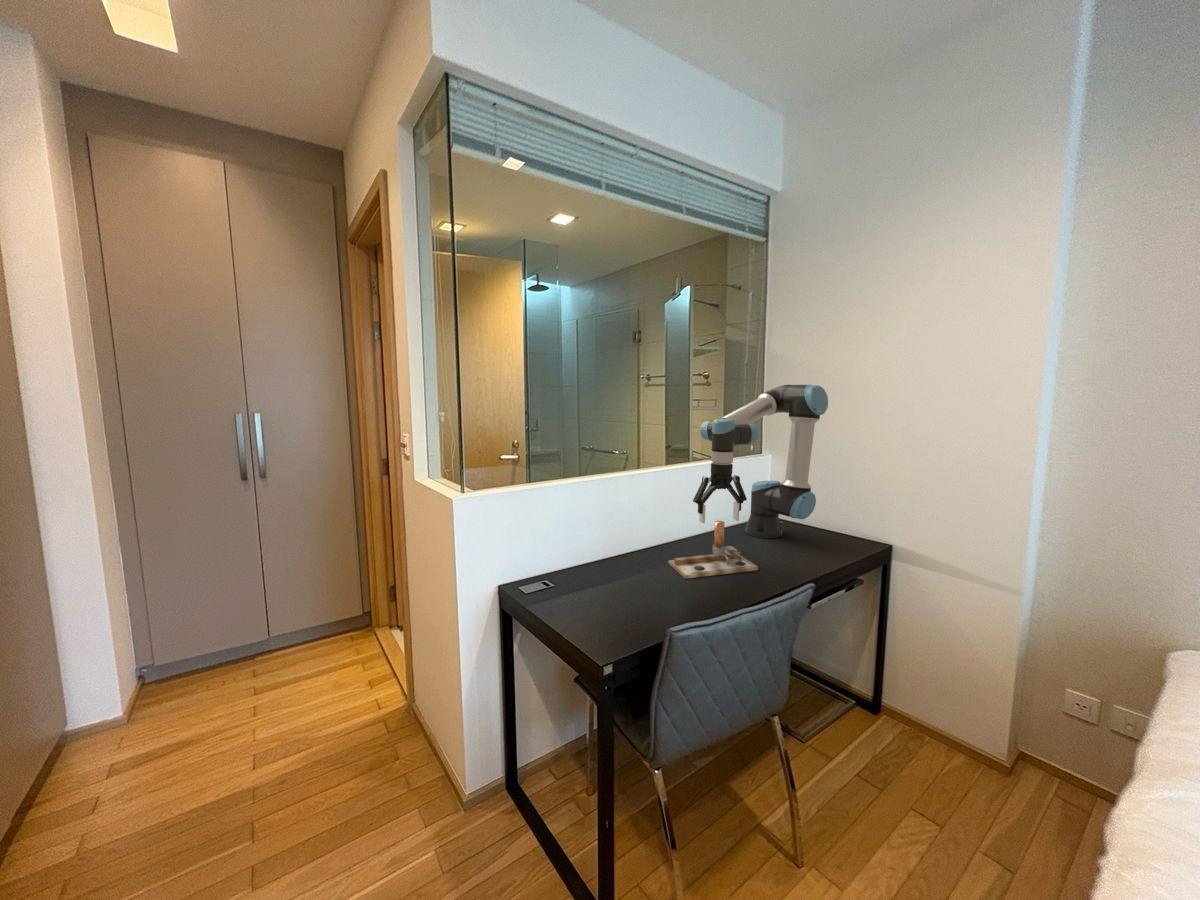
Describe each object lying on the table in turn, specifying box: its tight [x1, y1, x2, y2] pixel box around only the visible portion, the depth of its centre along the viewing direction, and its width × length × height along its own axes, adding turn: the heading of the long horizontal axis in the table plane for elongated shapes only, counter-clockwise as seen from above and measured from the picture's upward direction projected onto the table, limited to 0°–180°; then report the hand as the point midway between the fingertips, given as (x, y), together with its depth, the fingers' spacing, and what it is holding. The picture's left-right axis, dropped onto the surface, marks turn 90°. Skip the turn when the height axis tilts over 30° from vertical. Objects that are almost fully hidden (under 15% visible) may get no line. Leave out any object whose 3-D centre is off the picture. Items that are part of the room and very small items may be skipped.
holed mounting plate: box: [667, 545, 759, 580], centre depth 170 cm, size 28×14×5 cm, turn 106°
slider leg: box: [712, 520, 730, 564], centre depth 171 cm, size 3×9×13 cm, turn 16°
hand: (719, 521), depth 172 cm, fingers open, 13 cm apart
